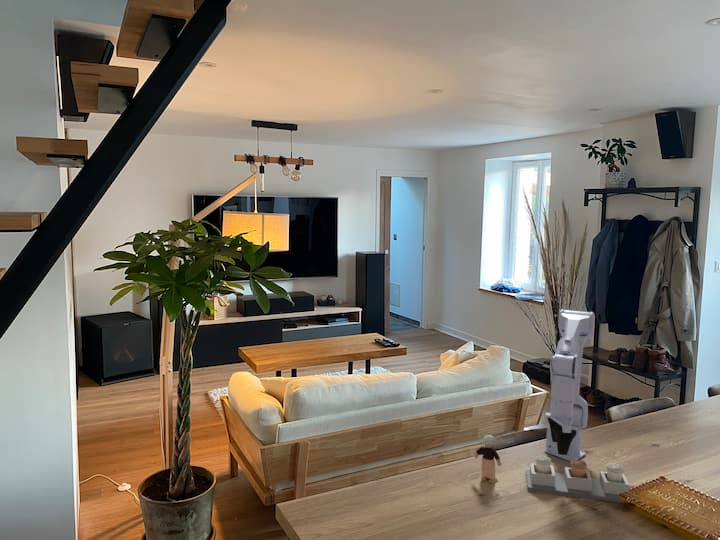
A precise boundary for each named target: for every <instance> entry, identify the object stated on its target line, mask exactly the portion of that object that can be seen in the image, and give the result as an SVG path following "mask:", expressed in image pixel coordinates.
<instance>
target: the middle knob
mask: <svg viewBox="0 0 720 540" xmlns="http://www.w3.org/2000/svg"><path fill="white" fill-rule="evenodd" d="M587 465H588V464H587V462H586V461H584V460H581V459H578V460H576V459H575V460H571V461H570V468H571V476H573V477H578V478H585V472H586V470H587V467H588V466H587Z"/></svg>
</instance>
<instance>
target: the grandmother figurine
mask: <svg viewBox="0 0 720 540" xmlns="http://www.w3.org/2000/svg"><path fill="white" fill-rule="evenodd" d="M495 441H496V440H495V437H494V436H493V435H492V434H487V435H484V437H483V438H482V441H481V442H482V443H481V444H482V445H484V446H481V447H479V448H478V449H476V450H475V454H474V456H473V457H474V458H475V459H477V458H478V457H479V456H482V457H481V465H480V467H481V478H480V480H481V481H484V482H486V481H488V482H489V483H491V484H494V483H497V482H498V481H499V480H498V478H497V477H496V465H498V466H499V467H500V466H502V463H501V458H500V455H499V454H498V451H496V449H495V448H493V447H494V443H495ZM496 463H497V464H496Z"/></svg>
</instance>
